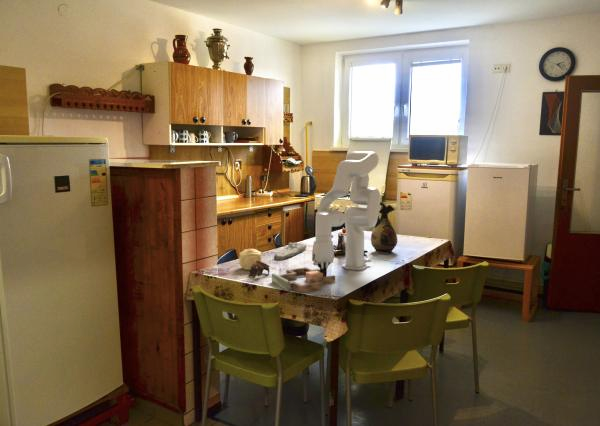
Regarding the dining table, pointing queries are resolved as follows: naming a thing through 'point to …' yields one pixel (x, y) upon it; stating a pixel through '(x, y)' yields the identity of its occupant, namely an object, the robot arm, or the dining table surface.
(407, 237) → the dining table surface
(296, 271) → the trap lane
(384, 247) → the ceramic jug
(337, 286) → the dining table surface
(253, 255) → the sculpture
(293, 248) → the elongated rock
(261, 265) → the brown animal figurine
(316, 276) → the block
